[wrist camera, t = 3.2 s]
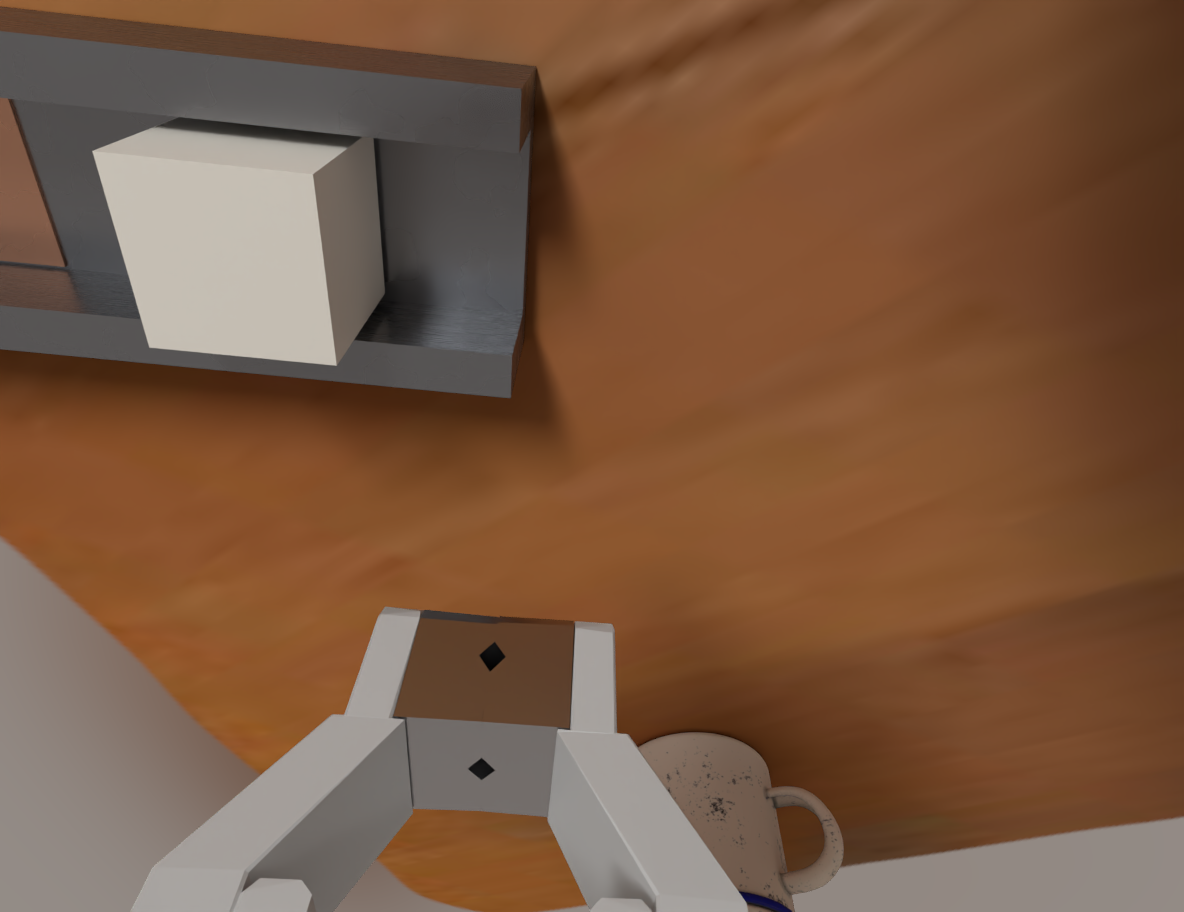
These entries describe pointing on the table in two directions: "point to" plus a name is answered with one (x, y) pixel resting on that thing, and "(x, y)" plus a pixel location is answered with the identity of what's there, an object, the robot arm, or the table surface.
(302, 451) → the table surface
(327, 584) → the table surface
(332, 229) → the block
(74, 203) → the chute
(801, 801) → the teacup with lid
